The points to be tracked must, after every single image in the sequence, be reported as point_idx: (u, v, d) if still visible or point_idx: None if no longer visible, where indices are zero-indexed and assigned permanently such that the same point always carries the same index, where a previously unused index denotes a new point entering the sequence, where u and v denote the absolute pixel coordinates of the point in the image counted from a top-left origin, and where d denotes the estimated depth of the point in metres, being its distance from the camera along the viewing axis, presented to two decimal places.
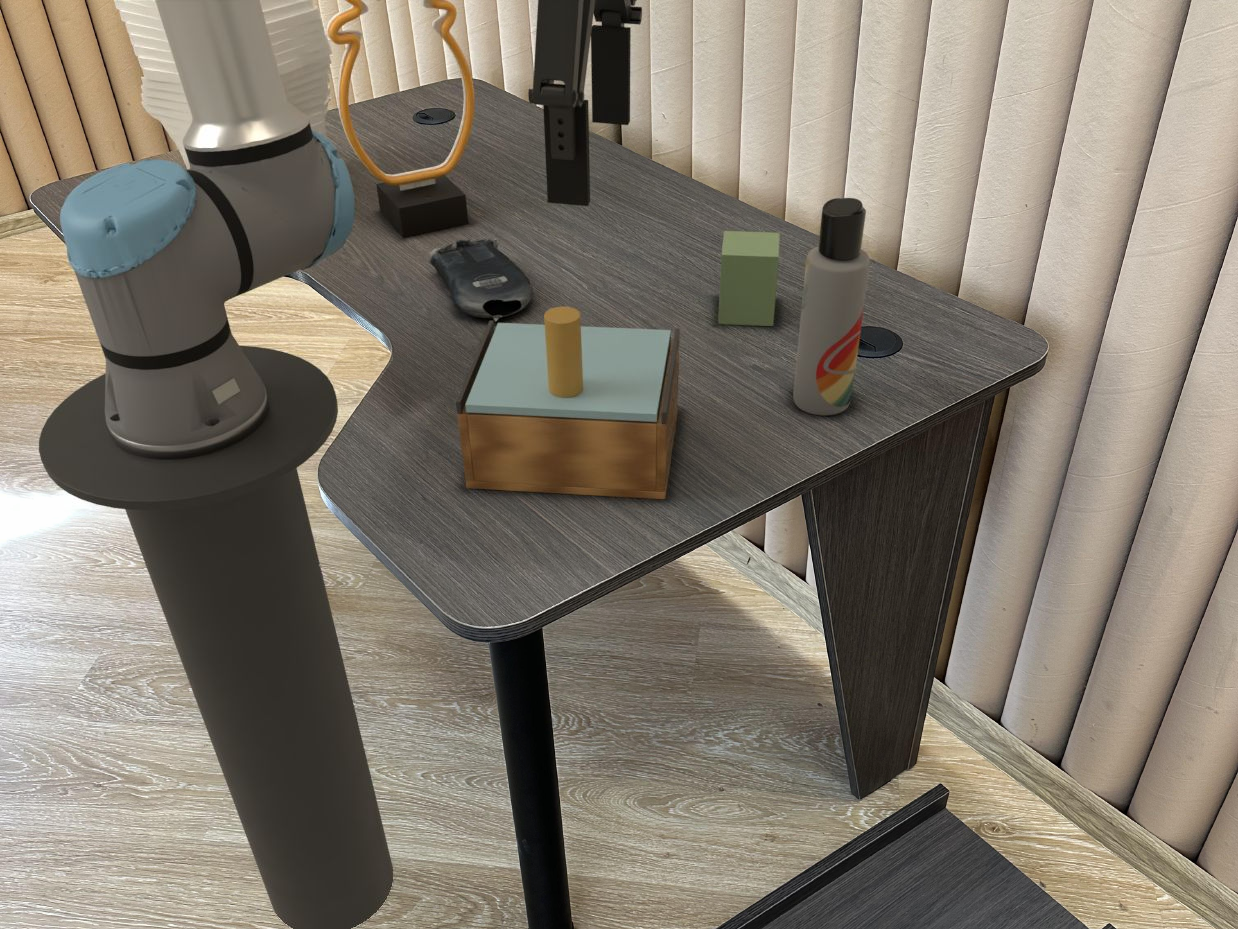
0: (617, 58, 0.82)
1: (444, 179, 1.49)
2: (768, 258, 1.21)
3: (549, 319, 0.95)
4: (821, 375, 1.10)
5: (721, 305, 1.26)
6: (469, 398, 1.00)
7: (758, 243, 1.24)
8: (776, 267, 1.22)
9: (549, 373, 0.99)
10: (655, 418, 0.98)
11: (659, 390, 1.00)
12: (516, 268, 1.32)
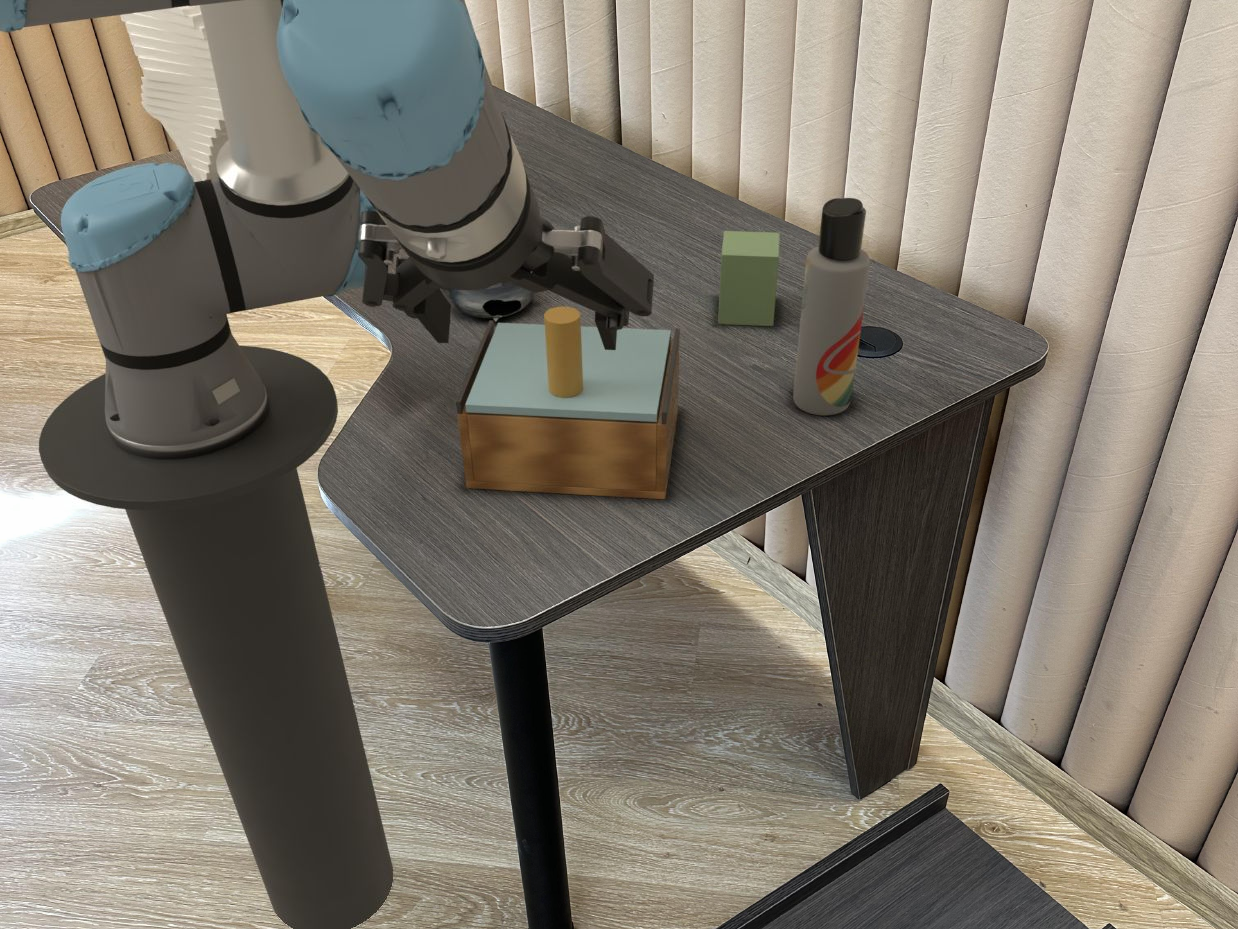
0: None
1: None
2: (768, 258, 1.21)
3: (549, 319, 0.95)
4: (821, 375, 1.10)
5: (721, 305, 1.26)
6: (469, 398, 1.00)
7: (758, 243, 1.24)
8: (776, 267, 1.22)
9: (549, 373, 0.99)
10: (655, 418, 0.98)
11: (659, 390, 1.00)
12: None
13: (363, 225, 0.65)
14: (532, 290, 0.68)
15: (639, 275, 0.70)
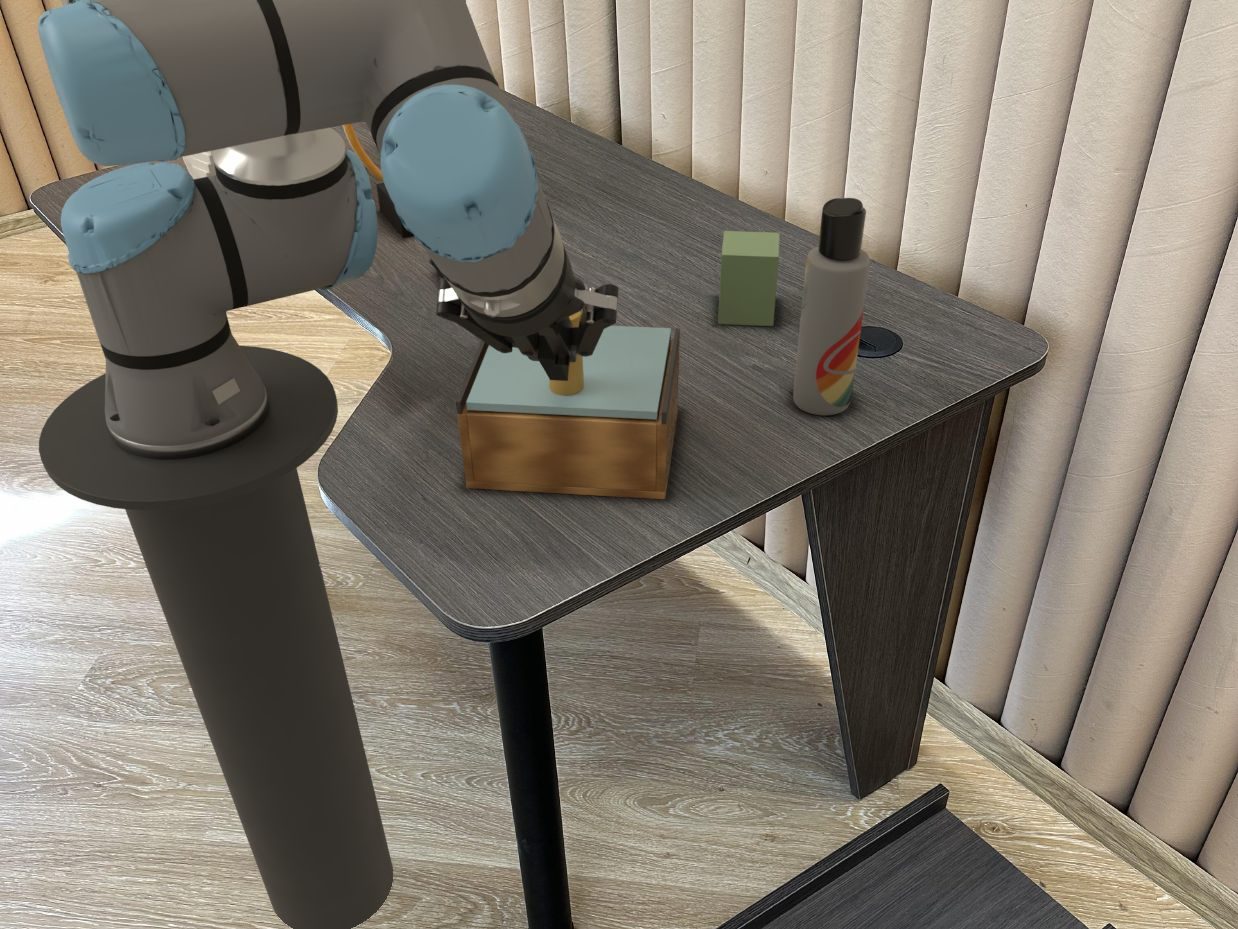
0: None
1: None
2: (768, 258, 1.21)
3: None
4: (821, 375, 1.10)
5: (721, 305, 1.26)
6: (470, 396, 1.00)
7: (758, 243, 1.24)
8: (776, 267, 1.22)
9: None
10: (655, 416, 0.98)
11: (659, 388, 1.00)
12: None
13: (438, 291, 0.81)
14: (541, 334, 0.82)
15: None
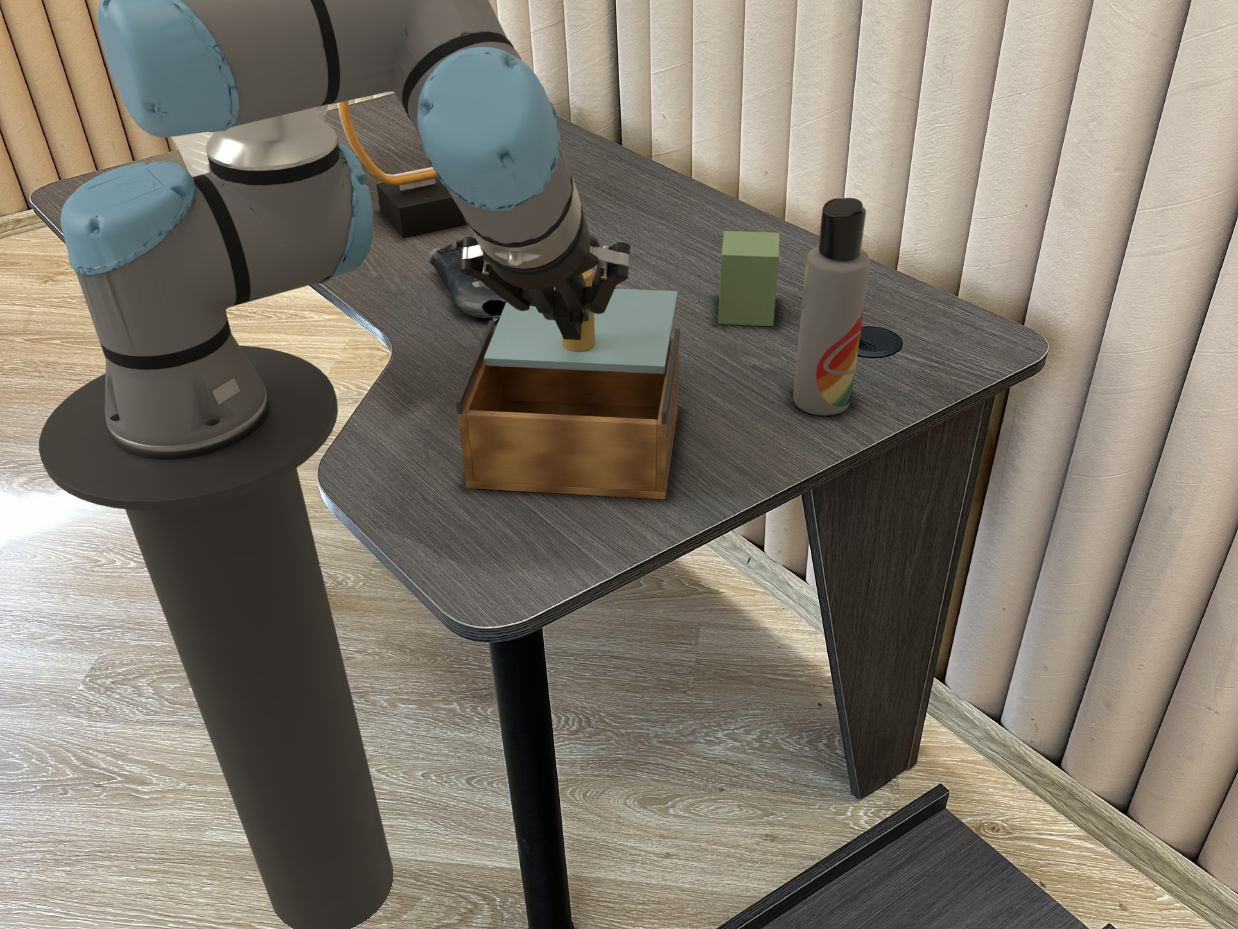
0: None
1: None
2: (768, 258, 1.21)
3: None
4: (821, 375, 1.10)
5: (721, 305, 1.26)
6: (487, 352, 1.06)
7: (758, 243, 1.24)
8: (776, 267, 1.22)
9: None
10: (663, 370, 1.04)
11: (667, 345, 1.06)
12: None
13: (462, 249, 0.87)
14: (558, 289, 0.88)
15: None
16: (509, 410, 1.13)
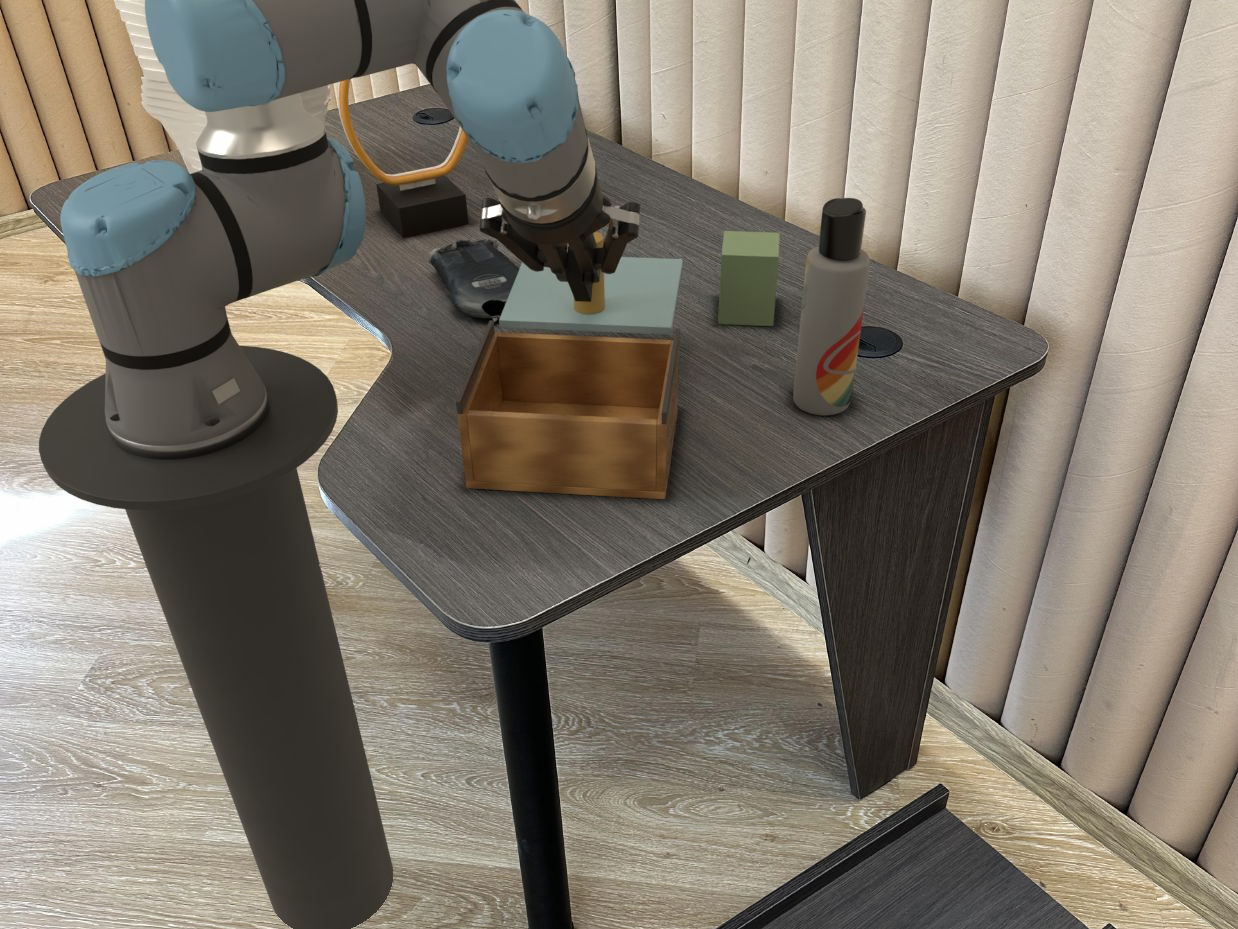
0: None
1: (444, 179, 1.49)
2: (768, 258, 1.21)
3: None
4: (821, 375, 1.10)
5: (721, 305, 1.26)
6: (502, 315, 1.11)
7: (758, 243, 1.24)
8: (776, 267, 1.22)
9: None
10: (670, 331, 1.09)
11: (673, 308, 1.11)
12: (515, 268, 1.32)
13: (481, 209, 0.92)
14: (572, 248, 0.93)
15: None
16: (509, 410, 1.13)
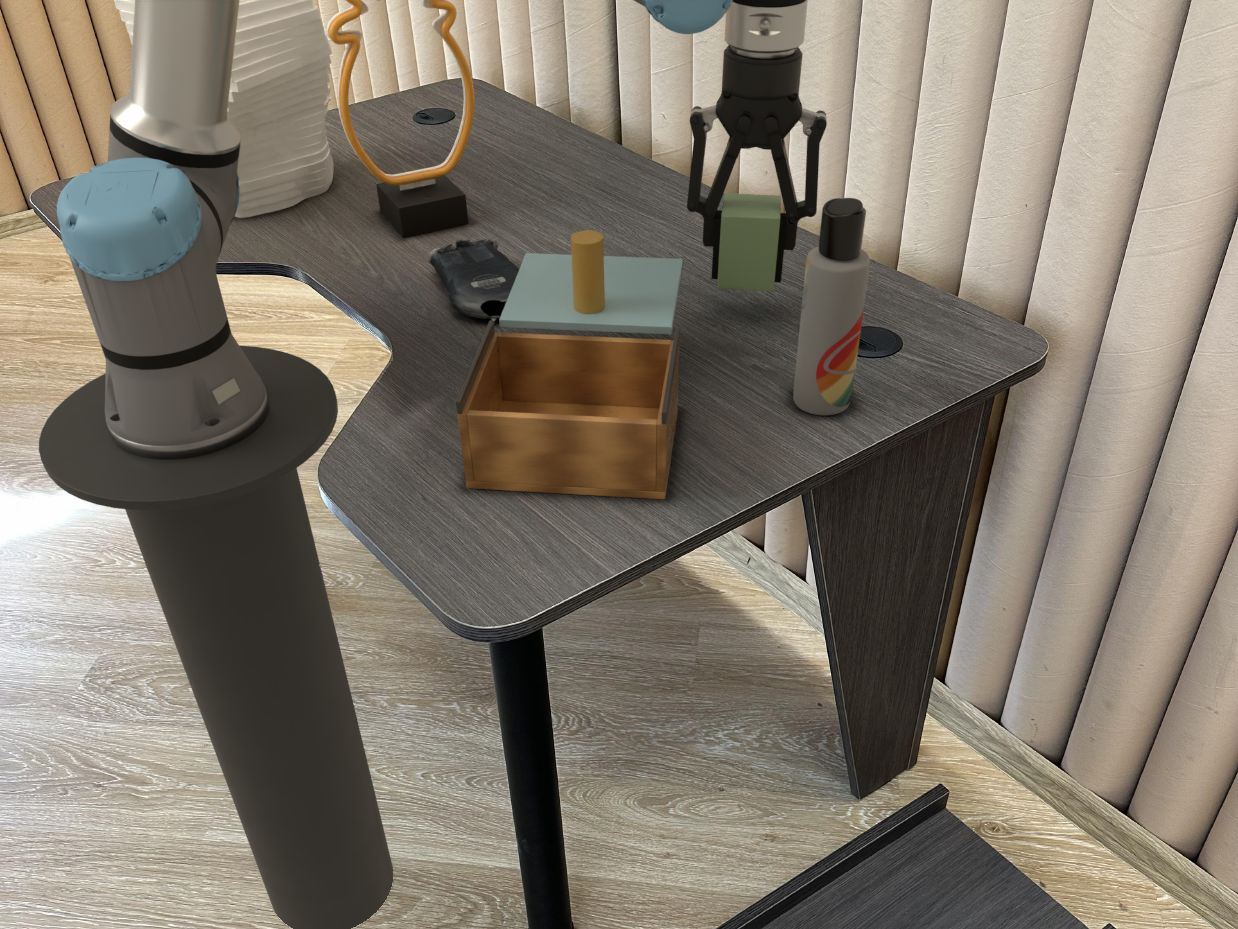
0: None
1: (444, 179, 1.49)
2: (769, 220, 1.19)
3: (575, 241, 1.06)
4: (821, 375, 1.10)
5: (721, 269, 1.23)
6: (502, 314, 1.11)
7: (759, 206, 1.21)
8: (777, 229, 1.19)
9: (574, 291, 1.10)
10: (670, 331, 1.09)
11: (673, 308, 1.11)
12: (515, 269, 1.32)
13: (692, 110, 1.16)
14: (773, 153, 1.15)
15: None
16: (509, 410, 1.13)
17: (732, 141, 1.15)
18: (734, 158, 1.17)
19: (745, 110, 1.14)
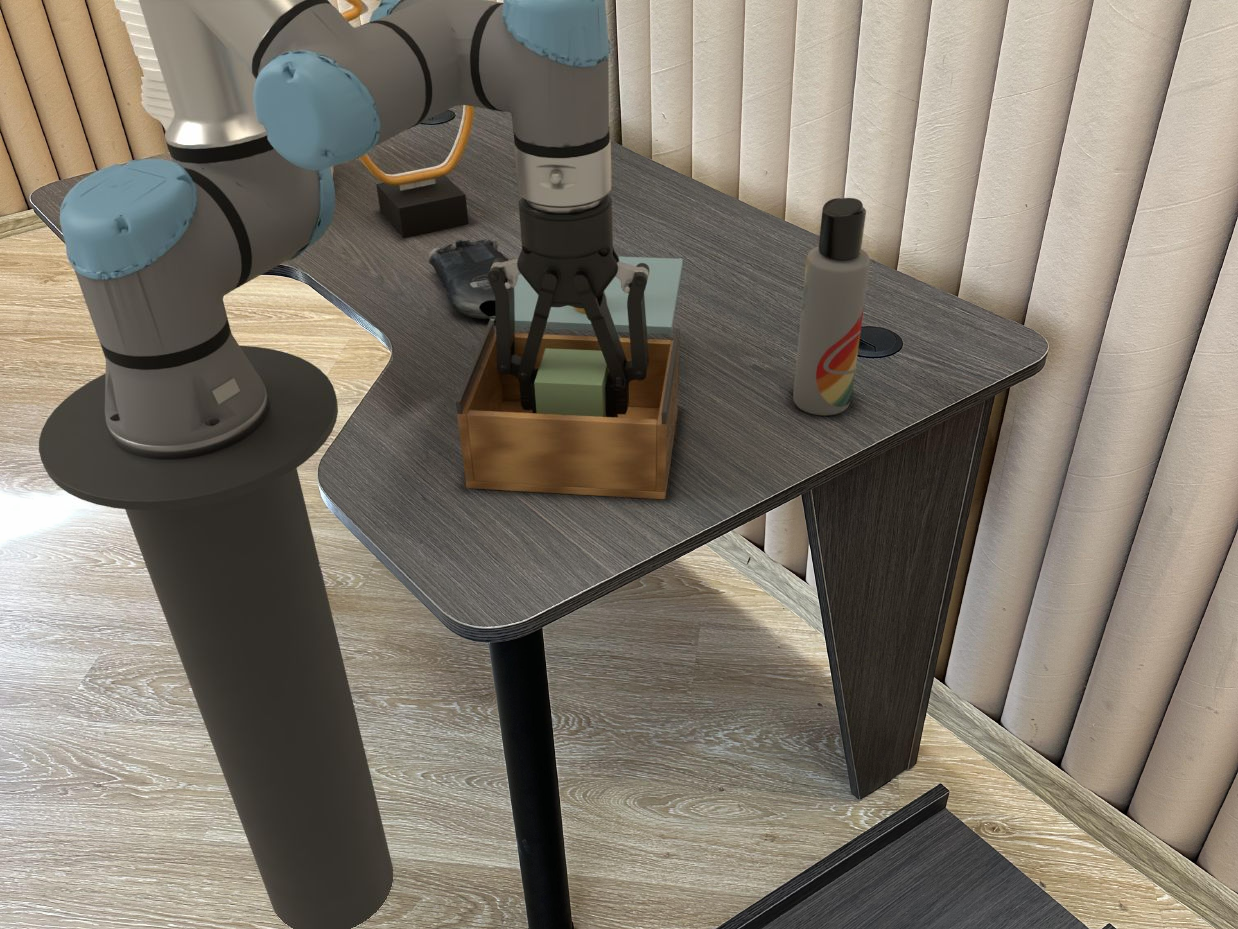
0: None
1: (444, 179, 1.49)
2: (590, 387, 1.01)
3: None
4: (821, 375, 1.10)
5: None
6: None
7: (581, 366, 1.03)
8: (600, 396, 1.02)
9: None
10: (670, 331, 1.09)
11: (673, 308, 1.11)
12: None
13: (493, 264, 0.98)
14: (588, 313, 0.98)
15: (646, 345, 1.02)
16: (509, 410, 1.13)
17: (539, 300, 0.98)
18: (544, 318, 0.99)
19: (551, 266, 0.96)
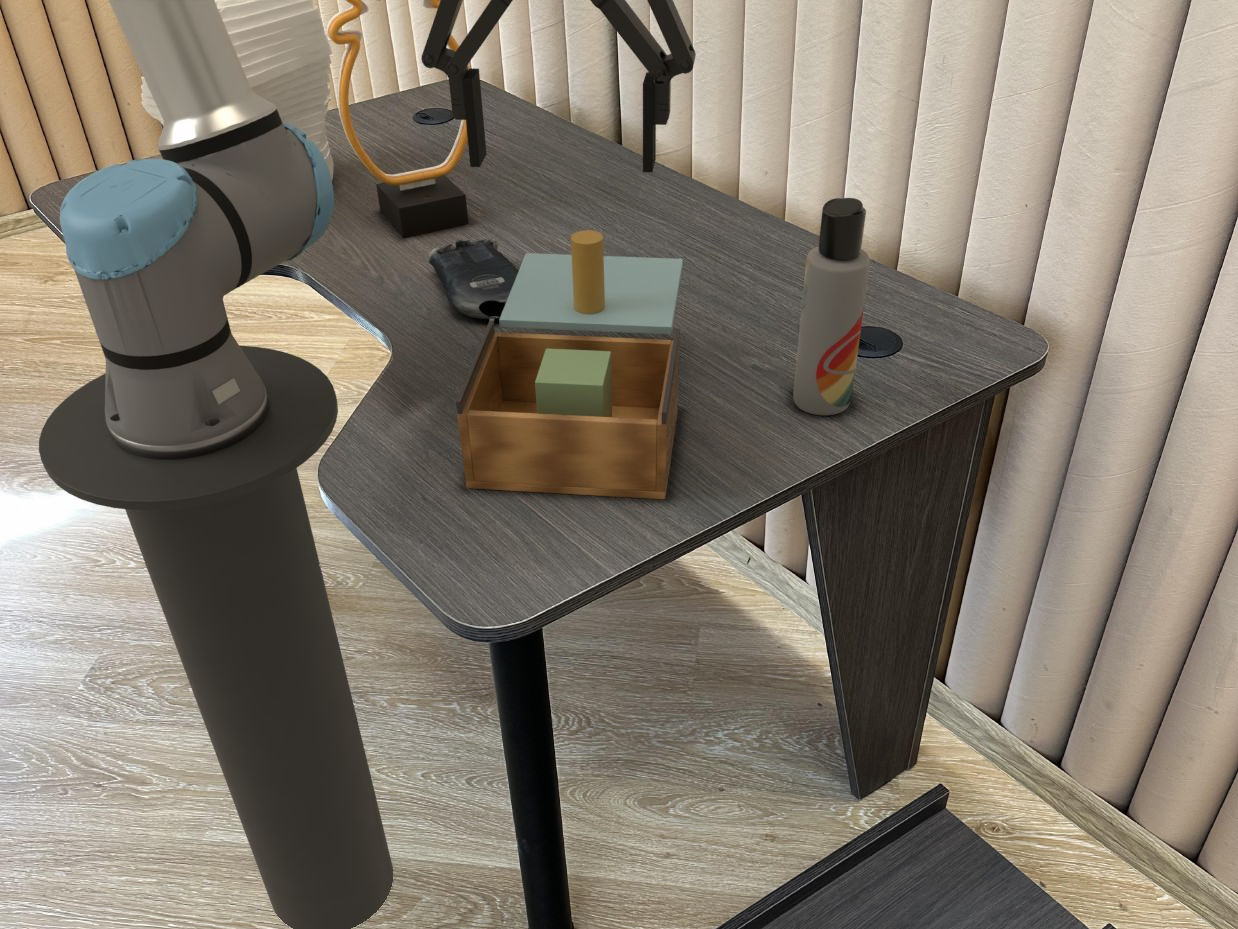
0: None
1: (444, 179, 1.49)
2: (591, 387, 1.01)
3: (575, 241, 1.06)
4: (821, 375, 1.10)
5: None
6: (502, 314, 1.11)
7: (582, 367, 1.03)
8: (601, 397, 1.02)
9: (574, 291, 1.10)
10: (670, 331, 1.09)
11: (673, 308, 1.11)
12: (514, 269, 1.32)
13: None
14: None
15: (682, 28, 0.84)
16: (509, 410, 1.13)
17: None
18: (505, 5, 0.83)
19: None
